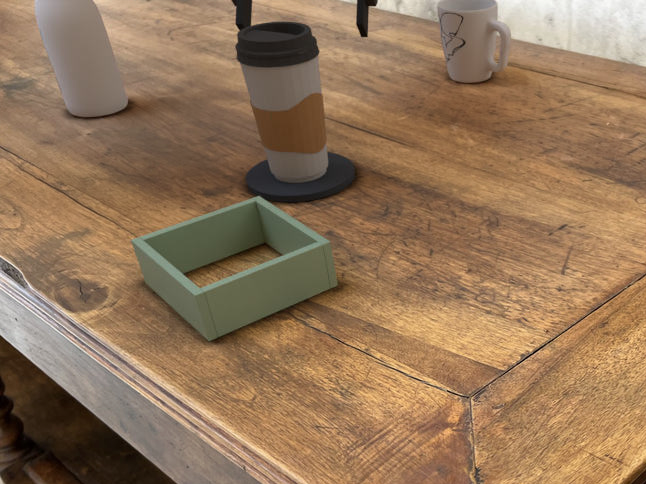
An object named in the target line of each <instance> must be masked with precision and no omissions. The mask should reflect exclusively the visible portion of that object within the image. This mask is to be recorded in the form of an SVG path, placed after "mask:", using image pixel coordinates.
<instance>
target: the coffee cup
mask: <svg viewBox="0 0 646 484" xmlns="http://www.w3.org/2000/svg"><path fill="white" fill-rule="evenodd" d="M236 37H237V42H236V43H235V47H234V48H235V51H236V60H237V62H238V63H239V65H240V68H241V71H242V75H243V78H244V83H245V85H246V89H247V92H248V96H249V103H250V106H251V110H252V113H253V116H254V120H255V124H256V127H257V131H258V134H259V137H260V141H261V145H262V147H263V149H264V152H265V157H266V159H267V160H268V163H269V167H270V170H271V173H273V174H274V175H275V178H277V179H278V180H280V181H283V182H289V183H300V182H307V181H311V180H315V179H317V178H319V177H321V176H322V175H324V174H325V172H326V168H327V167H328V155H327V152H328V146H327V145H328V144H327V127H326V118H325V117H326V116H325V106H324V94H323V93H322V92H323V91H322V82H321V72H320V61H319V55H320V52H321V51H320V48H319V46H318V40H317V38H316V37H315V36H314V35H313V32H312V29H311V27H310V25H307V24H305V23H302V22H297V21H269V22H262V23H257V24H251V26H248V27H246V28H243V29H242V30H238V31H237V33H236Z"/></svg>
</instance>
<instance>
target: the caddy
mask: <svg viewBox="0 0 646 484" xmlns="http://www.w3.org/2000/svg"><path fill="white" fill-rule="evenodd" d="M130 243H131V245H132V248H133V251H134V253H135V257H136V259H137V263H138V265H139V268H140V271H141V274H142V276H143V280H144V283H145V284H146V285H147V286H148V287H149V288H150V289H151V290H152V291H153V292H155V293H156V294H157V295H158V296H159V297H160V298H161V299H162V300H164V302H165V303H166V304H167V305H169V306H170V307H171V308H172V309H173V310H174V311H175V312H176V313H177V314H179V315H180V317H182V319H184V320H185V321H186V322H187V323H188V324H190V326H192V327H193V329H195V330H196V331H197V332H198V333H199V334H200V335H201V336H203V338H204V339H206V340H207V341H208V342H211V341H213V340H216V339H217V338H221V337H223V336H225V335H227V334H229V333H232V332H234V331H237V330H238V329H241V328H243V327H246V326H248V325H250V324H253V323H255V322H257V321H260V320H261V319H264V318H266V317H269V316H271V315H273V314H276V313H277V312H281V311H282V310H285V309H287V308H289V307H291V306H294V305H296V304H298V303H301V302H303V301H305V300H308V299H310V298H312V297H315V296H317V295H319V294H321V293H322V294H323V292H326V291H329V290H330V289H333V288H335V287H337V286H338V285H339V283H338V277H337V273H336V272H337V271H336V265H335V261H334V255H333V250H332V249H333V247H332V242H331V240H329V239H327V238H326V237H324V236H322V235H321V234H319V233H318V232H316V231H314V230H313V229H311V228H310V227H309V226H307V225H305V224H304V223H302V222H301V221H300V220H297V219H296V218H294V217H293V216H291V215H290V214H289V213H287V212H285V211H283V210H282V209H280V208H278V207H277V206H276V205H274V204H272V203H271V202H269V200H266V199H263V198H261V197H260V196H254V197H251V198H249V199H246V200H243V201H240V202H237V203H234V204H231V205H227V206H225V207H223V208H219V209H217V210H214V211H211V212H208V213H204V214H202V215H199V216H196V217H194V218H191V219H187V220H185V221H181V222H179V223H176V224H173V225H170V226H167V227H164V228H162V229H159V230H155V231H153V232H150V233H147V234H144V235H141V236H138V237H135V238H132V239H130ZM262 244H266V245H268V246H269V247H270V248H272V249H274V251H277V252H278V253H280V254H281V255H280V256H277V257H276V258H273V259H270V260H268V261H266V262H263V263H259V264H258V265H256V266H255V265H254V266H252V267H250V268H247V269H245V270H242V271H239V272H237V273H235V274H233V275H230V276H227V277H225V278H222V279H220V280H218V281H215V282H212V283H210V284H207V285H204V286H202V287H199V286H198V285H196V283H194V282H193V280H191V279H190V278H188V277H187V276H186V275H185V274H186V273H189V272H191V271H194V270H196V269H199V268H202V267H204V266H207V265H210V264H213V263H215V262H218V261H220V260H223V259H226V258H229V257H230V256H231V257H232V256H233V255H236V254H238V253H242V252H244V251H247V250H249V249H252V248H255V247H257V246H260V245H262Z"/></svg>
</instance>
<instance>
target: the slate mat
mask: <svg viewBox="0 0 646 484" xmlns="http://www.w3.org/2000/svg"><path fill="white" fill-rule="evenodd" d="M327 155H328V167H327V168H326V172H325V174H324V175H322V176H321V177H319V178H317V179H315V180H311V181H307V182H300V183H289V182H283V181H280V180H278V179H277V178H275V175H274V174H273V173H271V170H270V167H269V163H268V160H267V158H266V159H264V160H262V161H260V162H257V163H256V164H255V165H253V166H252V167H251V168H250V169H249V170H248V171H247V173H246V175H245V183H246V187H247V189H248V191H249V192H250V193H251V194H252V195H253V196H254V197H257V196H260V197H261V198H263V199H265V200H266V201H270V202H277V203H299V202H300V203H301V202H309V201H314V200H315V201H316V200H319V199H323V198H327V197H330V196H332V195H335V194H337V193H339V192H342V191H344V190H345V189H346V188H348V186H350V185H351V184H352V183H353V182H354V179H355V176H356V171H355V165H354V164H353V162H352V161H351V160H350V159H349V158H347V157H346V156H344V155H341V154H338V153H335V152H330V151H327Z"/></svg>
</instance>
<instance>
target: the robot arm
mask: <svg viewBox="0 0 646 484" xmlns="http://www.w3.org/2000/svg"><path fill="white" fill-rule="evenodd" d="M230 1H231V2H232V4H233V6H234V7H235V23H234V25H235V26H236V27H237V29H238V31H240V30H242V29H243V28H246V27H248V26H252V12H253V0H230ZM378 3H379V0H356V16H355V18H356V20H355V25H356V27H357V31H358V32H359V35H360V38H368V37H369V15H370V14H369V12H370V10H369V9H370V7H377V5H378Z"/></svg>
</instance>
